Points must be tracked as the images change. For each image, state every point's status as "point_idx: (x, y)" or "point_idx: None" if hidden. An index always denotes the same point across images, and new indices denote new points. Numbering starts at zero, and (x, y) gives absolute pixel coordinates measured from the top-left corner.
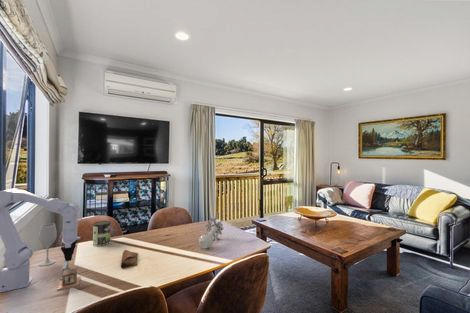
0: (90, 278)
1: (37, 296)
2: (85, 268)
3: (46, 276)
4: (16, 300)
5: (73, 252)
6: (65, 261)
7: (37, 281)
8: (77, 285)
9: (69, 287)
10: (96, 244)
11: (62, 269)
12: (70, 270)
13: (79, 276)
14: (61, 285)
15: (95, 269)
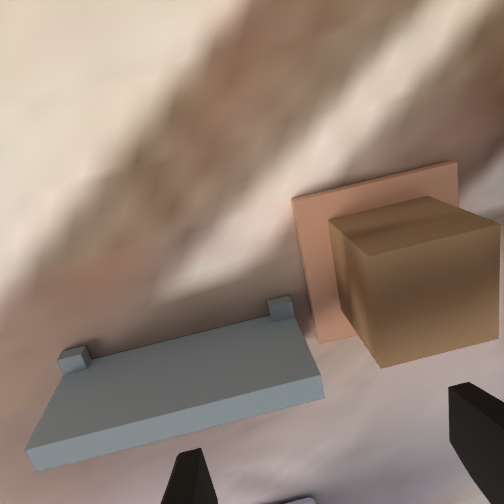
0: (349, 87)
1: None
2: (85, 208)
3: None
4: (461, 468)
5: (196, 469)
6: (118, 445)
7: (248, 478)
8: (451, 173)
9: None
10: None
11: (321, 392)
12: (411, 304)
13: (297, 206)
14: None
15: (136, 85)
